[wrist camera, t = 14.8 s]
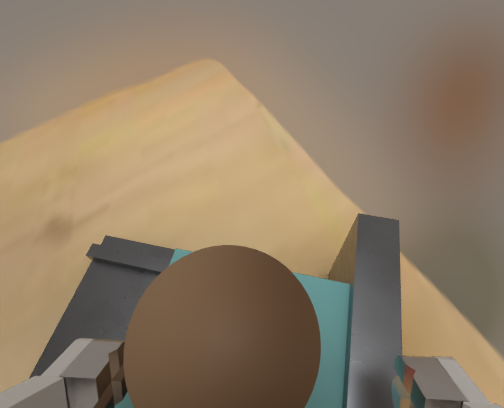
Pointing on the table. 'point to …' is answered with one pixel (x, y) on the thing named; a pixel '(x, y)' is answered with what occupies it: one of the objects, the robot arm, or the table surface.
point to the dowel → (223, 335)
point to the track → (343, 270)
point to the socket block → (331, 333)
